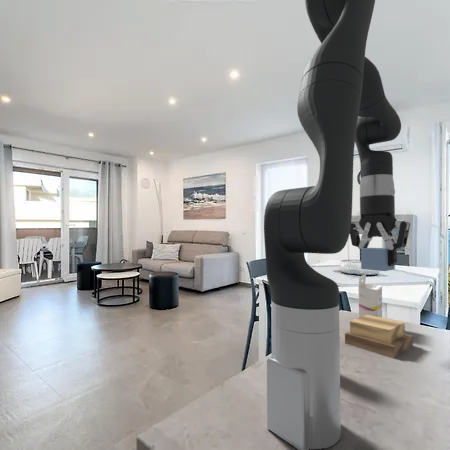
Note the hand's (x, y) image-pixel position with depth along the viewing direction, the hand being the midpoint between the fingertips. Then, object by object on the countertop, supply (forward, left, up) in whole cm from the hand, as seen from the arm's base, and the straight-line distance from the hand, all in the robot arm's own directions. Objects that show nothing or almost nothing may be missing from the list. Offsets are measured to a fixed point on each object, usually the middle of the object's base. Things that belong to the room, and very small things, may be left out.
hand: (377, 264), depth 71 cm
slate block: (0, 0, -1) cm, 1 cm away
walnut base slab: (0, 0, -20) cm, 20 cm away
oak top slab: (0, 0, -17) cm, 17 cm away
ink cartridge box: (+11, +7, -19) cm, 23 cm away
